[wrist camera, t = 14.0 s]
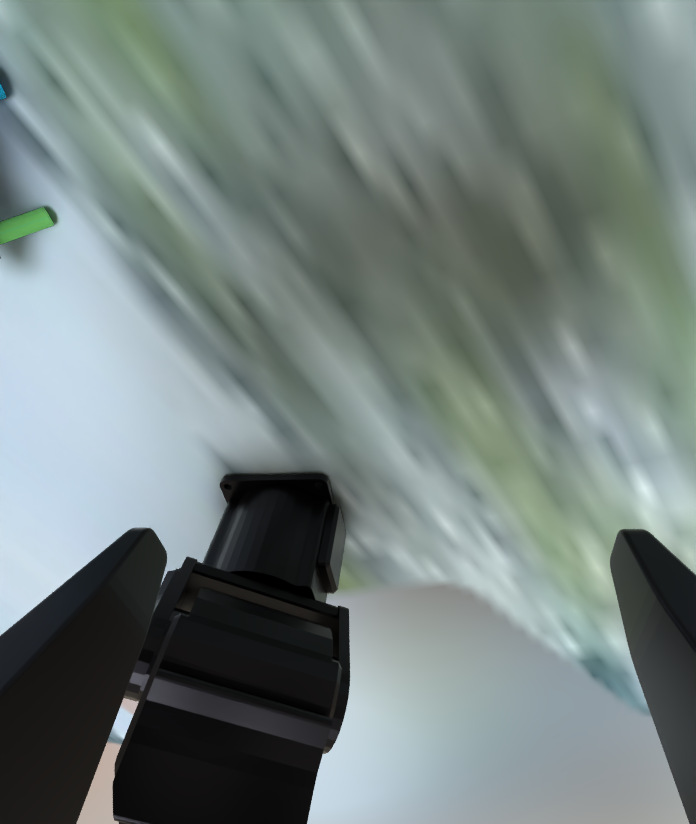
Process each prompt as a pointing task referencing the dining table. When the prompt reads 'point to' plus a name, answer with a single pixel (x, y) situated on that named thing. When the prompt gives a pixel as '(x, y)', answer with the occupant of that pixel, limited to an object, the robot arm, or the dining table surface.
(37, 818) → the robot arm
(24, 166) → the dining table surface
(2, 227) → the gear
